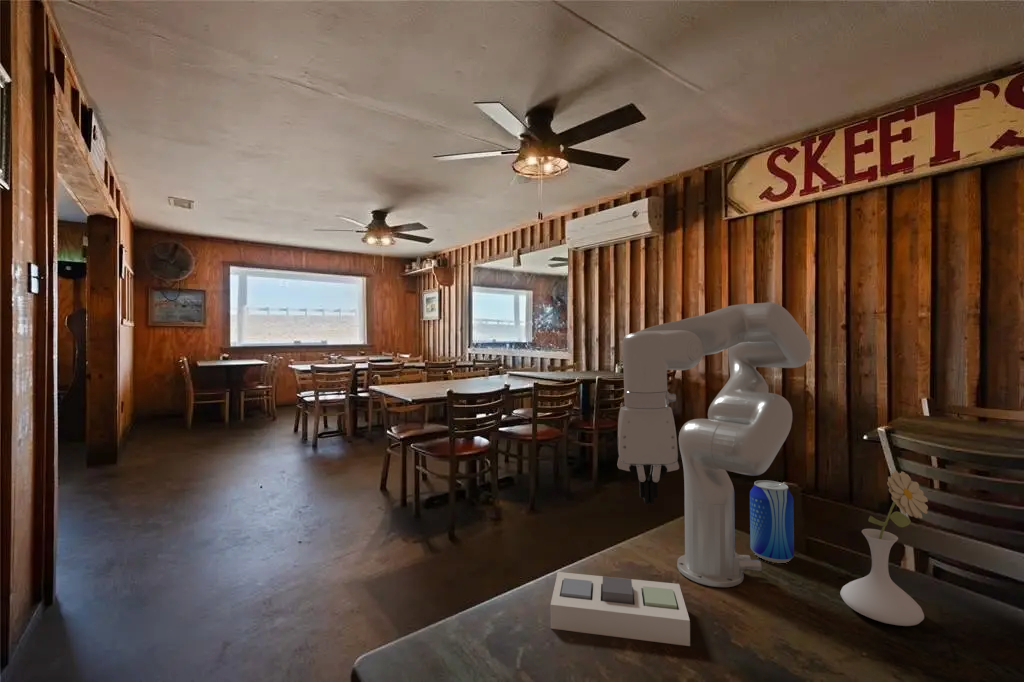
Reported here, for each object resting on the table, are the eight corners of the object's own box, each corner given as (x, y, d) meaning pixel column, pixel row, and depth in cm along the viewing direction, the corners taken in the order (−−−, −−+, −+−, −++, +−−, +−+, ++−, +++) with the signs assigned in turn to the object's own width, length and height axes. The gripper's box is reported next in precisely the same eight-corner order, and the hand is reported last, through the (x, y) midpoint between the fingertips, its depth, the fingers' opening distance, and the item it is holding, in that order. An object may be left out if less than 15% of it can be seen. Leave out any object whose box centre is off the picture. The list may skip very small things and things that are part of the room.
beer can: (800, 567, 95) (800, 491, 95) (757, 564, 97) (756, 489, 97) (785, 549, 103) (784, 480, 103) (745, 546, 105) (744, 478, 105)
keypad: (679, 606, 81) (679, 583, 82) (690, 646, 71) (689, 620, 71) (557, 592, 86) (557, 571, 86) (550, 628, 75) (550, 604, 75)
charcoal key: (631, 596, 80) (631, 579, 80) (633, 612, 75) (632, 594, 75) (602, 593, 81) (602, 576, 81) (602, 609, 76) (602, 591, 77)
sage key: (672, 606, 79) (672, 589, 79) (677, 623, 74) (676, 605, 74) (643, 603, 80) (643, 586, 80) (645, 620, 75) (645, 602, 75)
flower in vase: (872, 633, 74) (870, 480, 74) (825, 594, 85) (824, 461, 85) (954, 634, 73) (952, 480, 73) (896, 595, 85) (895, 462, 85)
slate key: (591, 597, 82) (591, 580, 82) (590, 613, 77) (590, 596, 77) (564, 594, 83) (564, 578, 83) (561, 610, 78) (561, 592, 78)
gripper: (684, 397, 84) (687, 495, 84) (602, 398, 86) (605, 493, 86) (694, 403, 76) (697, 511, 77) (604, 404, 79) (607, 508, 79)
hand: (648, 501), depth 82 cm, fingers closed
